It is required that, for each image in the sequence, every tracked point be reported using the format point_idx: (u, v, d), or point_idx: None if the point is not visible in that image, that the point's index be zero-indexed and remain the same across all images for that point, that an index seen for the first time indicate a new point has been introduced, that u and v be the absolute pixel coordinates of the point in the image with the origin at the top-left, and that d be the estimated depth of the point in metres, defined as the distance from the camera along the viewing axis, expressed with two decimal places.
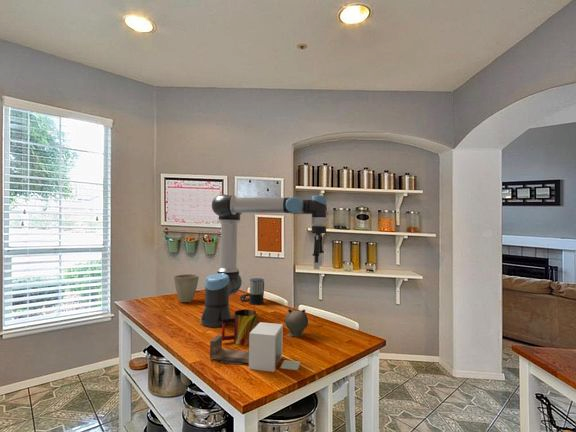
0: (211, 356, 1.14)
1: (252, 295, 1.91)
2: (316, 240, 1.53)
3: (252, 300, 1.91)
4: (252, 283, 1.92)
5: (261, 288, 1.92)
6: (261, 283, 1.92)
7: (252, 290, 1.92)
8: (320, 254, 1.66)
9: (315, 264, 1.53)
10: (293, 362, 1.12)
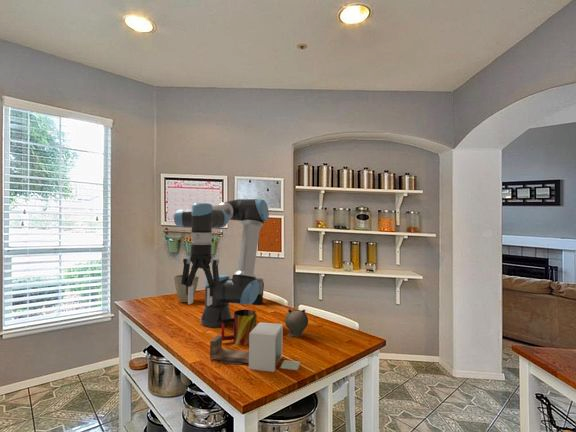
0: (211, 356, 1.14)
1: None
2: None
3: None
4: None
5: (260, 288, 1.92)
6: (260, 283, 1.92)
7: None
8: None
9: None
10: (293, 362, 1.12)
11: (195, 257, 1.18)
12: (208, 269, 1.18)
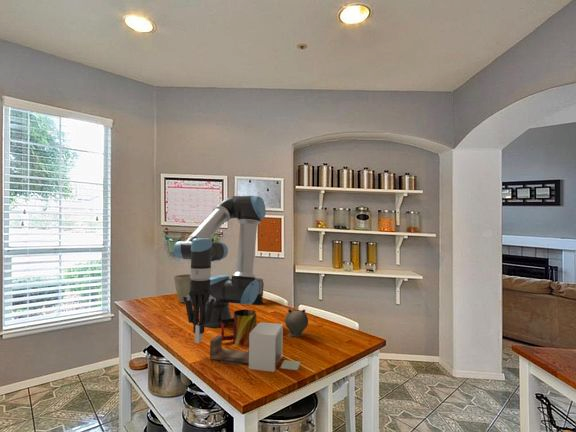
0: (211, 356, 1.14)
1: None
2: None
3: None
4: None
5: (260, 288, 1.92)
6: (260, 283, 1.92)
7: None
8: None
9: None
10: (293, 362, 1.12)
11: (193, 291, 1.18)
12: (204, 306, 1.18)
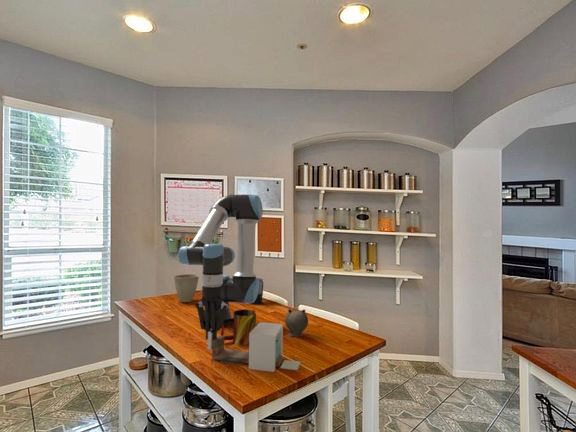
0: (213, 356, 1.13)
1: None
2: None
3: None
4: None
5: (260, 288, 1.92)
6: (260, 283, 1.92)
7: None
8: None
9: None
10: (293, 362, 1.12)
11: (205, 298, 1.17)
12: (216, 312, 1.17)
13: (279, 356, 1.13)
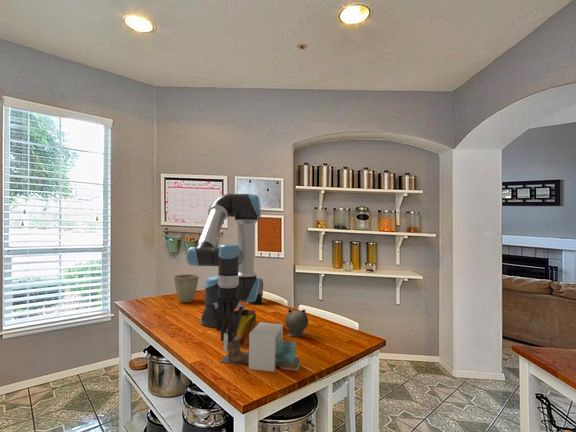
0: (230, 358, 1.12)
1: None
2: None
3: None
4: None
5: (260, 288, 1.92)
6: (260, 283, 1.92)
7: None
8: None
9: None
10: None
11: (221, 299, 1.15)
12: (232, 313, 1.15)
13: (296, 358, 1.12)
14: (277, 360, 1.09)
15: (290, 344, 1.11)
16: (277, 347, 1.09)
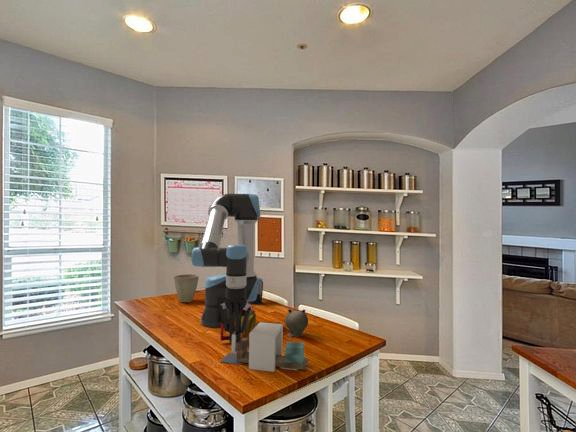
0: (238, 359, 1.11)
1: None
2: None
3: None
4: None
5: (259, 288, 1.92)
6: (260, 283, 1.92)
7: None
8: None
9: None
10: None
11: (229, 299, 1.15)
12: (240, 314, 1.15)
13: (305, 359, 1.11)
14: (286, 361, 1.08)
15: (299, 344, 1.10)
16: (286, 348, 1.08)
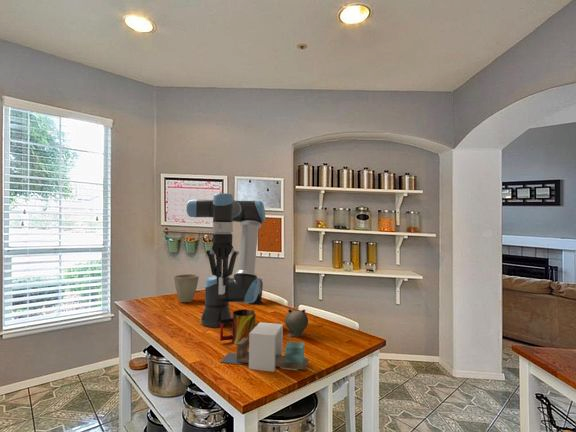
0: (238, 359, 1.11)
1: None
2: None
3: None
4: None
5: (259, 288, 1.92)
6: None
7: None
8: None
9: None
10: None
11: (216, 245, 1.21)
12: (226, 259, 1.21)
13: (305, 359, 1.11)
14: (286, 361, 1.08)
15: (299, 344, 1.10)
16: (286, 348, 1.08)
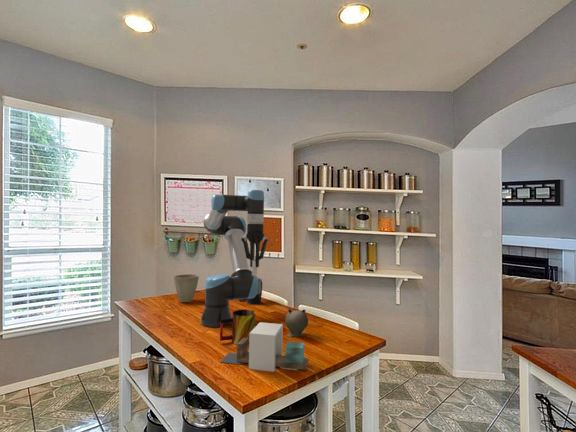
0: (238, 359, 1.11)
1: None
2: None
3: (250, 300, 1.92)
4: None
5: (259, 288, 1.92)
6: (259, 283, 1.92)
7: None
8: None
9: None
10: None
11: (250, 233, 1.44)
12: (258, 245, 1.44)
13: (305, 359, 1.11)
14: (286, 361, 1.08)
15: (299, 344, 1.10)
16: (286, 348, 1.08)
